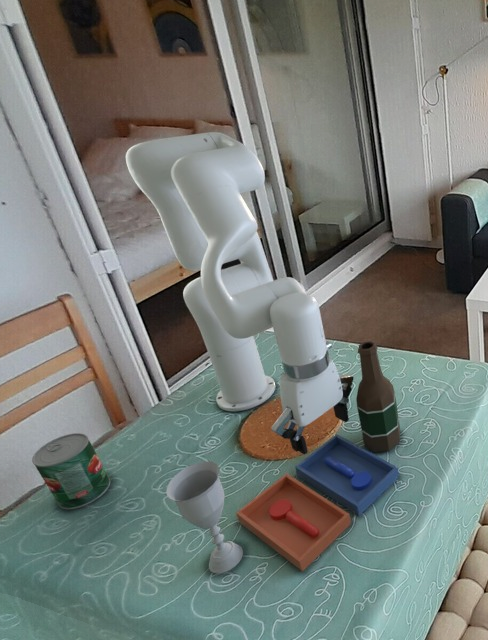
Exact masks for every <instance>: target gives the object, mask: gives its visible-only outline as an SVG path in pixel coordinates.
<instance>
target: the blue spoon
mask: <svg viewBox="0 0 488 640" xmlns="http://www.w3.org/2000/svg"><path fill="white" fill-rule="evenodd" d="M324 462H325V464H327V465H328V466H330V467H332V468H333V469H335V470H337V471H338V472H340V473H342V474H343V475H345V476H347V477H348V478H352V479H351V484H352V488H353V489H355V490H364V489H366V488H367V487H369V485H370V484H371V476H370V474H369V473H367V472H359V473H357V474H355V472H354V471H353V470H352V469H350V468H348V467H347V466H345V465H343V464H342V463H340V462H338V461H336V460H335V459H333V458H331V457H326V458H325V460H324Z"/></svg>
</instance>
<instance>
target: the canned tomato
mask: <svg viewBox="0 0 488 640" xmlns="http://www.w3.org/2000/svg"><path fill="white" fill-rule="evenodd" d="M31 462H32V464H33V465H34V466H35V468H36V471H38V473H39V475H40V477H41V478H42V480H43V481H44V484H45V485H46V487H47V488H48V490H49V491H50V493H51V494H52V496H53V498H54V499H55V501H56V502H57V504H58V505H57V506H59V508H61V509H63V510H76V509H80V508H83V507H85V506H88V505H90V504H92V503H93V502H96V501H97V500H98V499H99V498H101V497H102V496H103V495H104V494H105V493H106V492H107V491H108V489H109V488H110V486H111V478H110V476H109V475H108V473H107V471H106V470H105V467H104V465H103V464H102V462H101V460H100V458H99V456H98V454H97V452H96V450H95V448H94V446H93V444H92V443H91V441H90V439H89V436H88V435H87V434H85V433H82V432H81V433H80V432H75V433H68V434H64V435H61V436H59V437H57V438H54V439H52V440H50V441H48V442H46V443H45V444H44V445H42V446H41V447H40V448H39V449H37V450H36V451H35V453H34V454H33V455H32V459H31Z"/></svg>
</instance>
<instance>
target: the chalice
mask: <svg viewBox="0 0 488 640" xmlns="http://www.w3.org/2000/svg"><path fill="white" fill-rule="evenodd" d="M220 473H221V472H220V467H219V465H218V464H217V463H216V462H214V461H209V460H208V461H205V460H204V461H199V462H196V463H193V464H190V465H188V466H187V467H185V468H183V469H181V470H180V471H178V473H176V474H175V475H174V476H173V477H172V478H171V480H170V481H169V483H168V485H167V486H166V495H167V498H168V499H170V500H172V501H174V502H175V503H174V504H176V507H177V510H178V512H179V514H180V516H181V517H182V519H183V520H185V521H186V522H188V523H189V524H191V525H193V526H195V527H197V528H200V529H203V530H209V534H208V535H209V536H210V537H213V538H212V540H211V543H212V545H216V546H215V547H214V548H213V549H212V551H211V553H210V558H209V563H208V569H209V571H210V572H211V573H213V574H219V575H220V574H223V573H227V572H229V571H231V570H232V569H234V568H235V567H236V566H237V565H238V564H239V563H240V561H241V560H242V559H243V556H244V549H243V547H242V546H241V545H239V544H237V543H235V542H233V541H231V540H227V541H224V540H225V534H223V533H220V532H221V527H220V526H218V525H217V524H218V523H219V522H220V520H221V518H222V517H221V516H222V513H223V509H224V506H225V490H224V487H223V485H222V483H221V480H220V477H219V476H220Z"/></svg>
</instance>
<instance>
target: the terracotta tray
mask: <svg viewBox="0 0 488 640" xmlns="http://www.w3.org/2000/svg"><path fill="white" fill-rule="evenodd" d="M283 499H286V500H289V501H290V503H291V506H292V510H291V511H293V512H295V513H296V514H297V515H299V516H300V517H302V518H303V519H305V520H306V521H307V522H309V523H310V524H312V525H313V526H315V527H316V528H317V529H318V530H319V534H318V536H317V537H315V538H312V537H311V536H309V535H308V534H306V533H305V532H304V531H302V530H301V529H299V528H298V527H297V526H295V525H294V524H292V523H291V522H290V521H288V520H287V519H286V517H285V518H283V519H281V520H274V519H272V518H271V516H270V513H269V510H270V507H271V506H272V505H273V504H274V503H275V502H277V501H279V500H283ZM235 515H236V517H237V520H238V523H239V524H240V525H242V526H244V527H245V528H246V529H247V530H249V532H251V533H252V534H253V535H255V536H256V537H257V538H259V539H260V540H261V541H262V542H264V543H265V544H266V545H268V546H269V547H270V548H271V549H273V550H274V551H275V552H277V553H278V554H279V555H280V556H282V557H283V558H285V559H286V560H287V561H288V562H289V563H291V564H292V565H293V566H295V567H296V568H297V569H299V570H300V571H301V572H304V571H305V570H307V568H308V567H309V566H310V565H311V564H312V563H313V562H314V561H315V560H316V559H318V557H319V556H320V555H321V554H322V553H323V552H324V551H326V549H327V548H328V547H330V545H331V544H332V543H333V542H334V541H336V539H337V538H338V537H339V536H341V534H342V533H344V532H345V531H346V530H347V528H349V527H350V526H351V525H352V520H351V515H350V513H348V512H347V511H345V510H344V509H343V508H341V507H339V506H338V505H336V504H335V503H333V502H332V501H330V500H328V499H327V498H325V497H324V496H323V495H321V494H319V493H317V492H316V491H315V490H313V489H312V488H310V487H309V486H307V485H305V484H304V483H302V482H300V481H299V480H298V479H296V478H295V477H293V476H292V475H290V474H289V473H285V474H284V475H282V476H281V477H280V478H278V479H277V480H276V481H275V482H273V483H272V484H271V485H270V486H268V487H267V488H265V490H263V491H261V493H259V494H258V495H257V496H255V497H254V498H253V499H252V500H250V501H249V502H247V504H245V505H244V506H243V507H242V508H240V509H238V510H237V511H236V512H235Z"/></svg>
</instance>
